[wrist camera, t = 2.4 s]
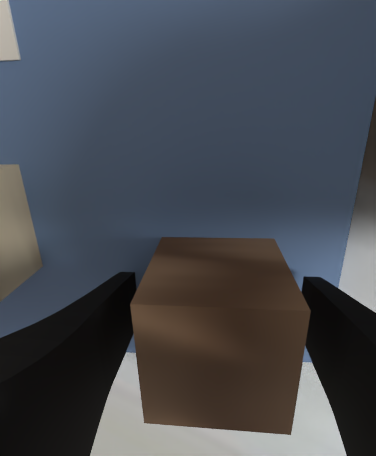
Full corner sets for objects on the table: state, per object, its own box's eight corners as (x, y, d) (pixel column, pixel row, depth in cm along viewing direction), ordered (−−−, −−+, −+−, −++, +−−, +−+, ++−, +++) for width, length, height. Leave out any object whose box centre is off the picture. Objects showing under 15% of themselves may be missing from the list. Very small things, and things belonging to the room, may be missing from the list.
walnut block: (167, 325, 13) (144, 422, 9) (161, 237, 11) (130, 304, 7) (265, 330, 12) (291, 435, 8) (274, 238, 11) (310, 311, 7)
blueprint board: (-116, 327, 16) (-135, 339, 15) (-377, -178, 9) (-439, -209, 8) (317, 349, 14) (324, 364, 13) (438, -313, 6) (470, -377, 6)
